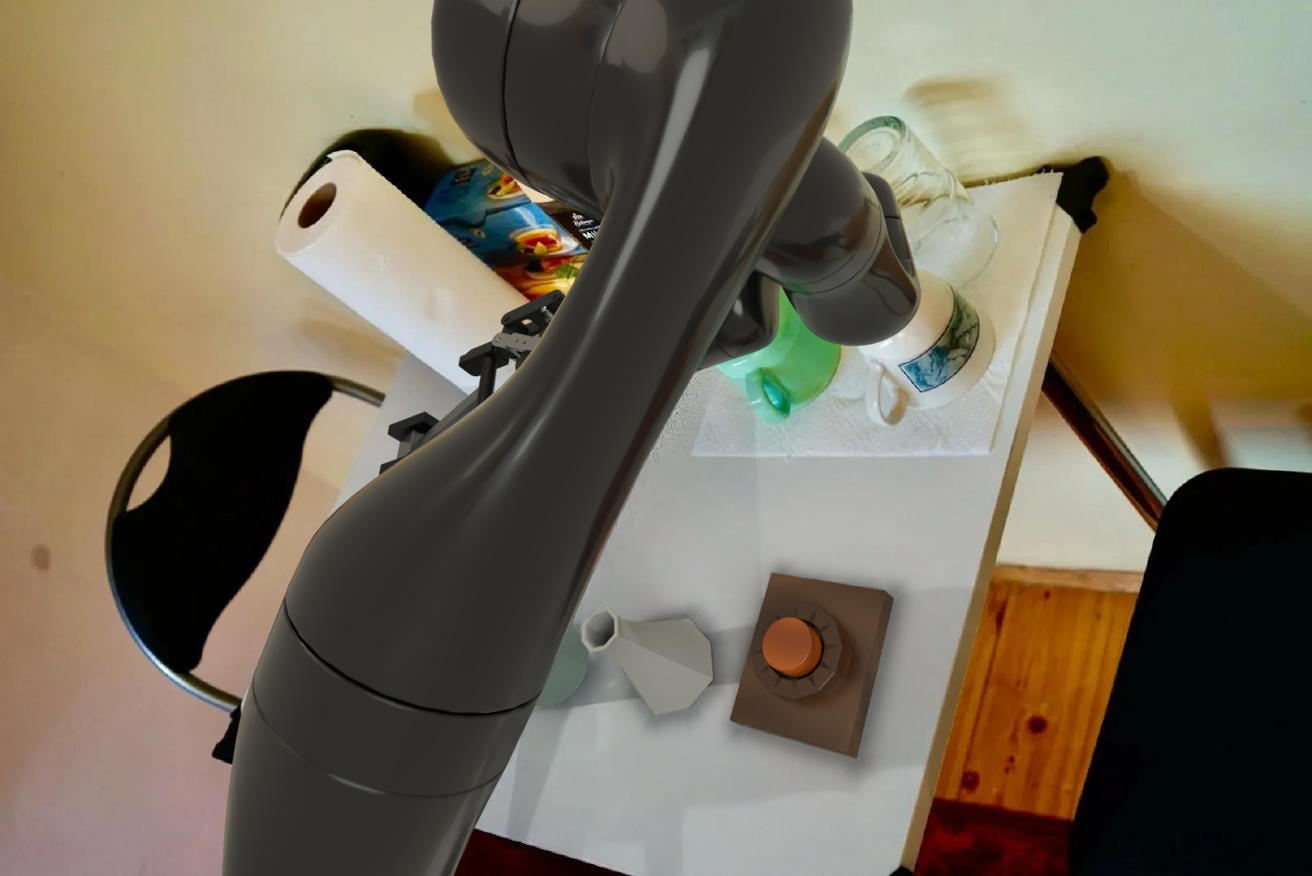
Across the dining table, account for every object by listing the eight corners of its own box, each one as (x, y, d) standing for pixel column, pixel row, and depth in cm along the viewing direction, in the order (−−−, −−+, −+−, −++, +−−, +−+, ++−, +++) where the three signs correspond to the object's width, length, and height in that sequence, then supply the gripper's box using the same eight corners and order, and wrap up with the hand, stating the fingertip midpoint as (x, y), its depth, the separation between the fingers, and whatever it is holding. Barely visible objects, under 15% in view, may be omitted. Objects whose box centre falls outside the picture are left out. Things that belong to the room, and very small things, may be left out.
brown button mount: (857, 759, 58) (835, 748, 56) (740, 725, 64) (716, 714, 61) (894, 598, 62) (876, 581, 59) (781, 579, 67) (759, 563, 65)
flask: (696, 604, 70) (624, 560, 63) (729, 684, 66) (656, 645, 58) (624, 651, 72) (547, 613, 65) (651, 733, 67) (571, 701, 60)
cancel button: (814, 682, 59) (803, 675, 58) (767, 671, 61) (755, 664, 60) (828, 629, 60) (817, 621, 59) (781, 620, 62) (770, 612, 61)
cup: (617, 674, 71) (538, 638, 64) (547, 735, 72) (462, 706, 65) (581, 604, 77) (505, 563, 70) (517, 662, 78) (435, 628, 71)
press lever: (507, 363, 71) (480, 352, 70) (498, 427, 68) (470, 416, 67) (427, 433, 81) (403, 424, 80) (417, 492, 78) (391, 483, 76)
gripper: (607, 234, 64) (439, 309, 72) (595, 400, 57) (409, 464, 65) (662, 293, 70) (500, 357, 78) (658, 451, 62) (479, 505, 70)
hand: (459, 405), depth 71 cm, fingers open, 7 cm apart
